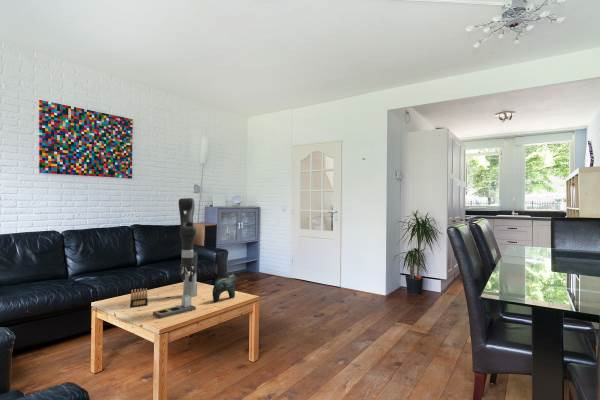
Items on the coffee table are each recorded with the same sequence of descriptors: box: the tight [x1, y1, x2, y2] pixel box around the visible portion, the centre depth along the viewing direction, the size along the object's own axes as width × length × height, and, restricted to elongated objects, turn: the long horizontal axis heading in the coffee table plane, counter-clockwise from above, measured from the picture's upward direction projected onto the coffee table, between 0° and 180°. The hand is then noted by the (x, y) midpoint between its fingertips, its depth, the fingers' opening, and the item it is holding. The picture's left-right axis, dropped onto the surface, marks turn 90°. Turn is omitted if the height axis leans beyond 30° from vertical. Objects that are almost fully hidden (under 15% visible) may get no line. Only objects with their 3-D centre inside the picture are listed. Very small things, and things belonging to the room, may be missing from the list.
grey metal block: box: [181, 295, 192, 308], centre depth 220 cm, size 4×4×9 cm
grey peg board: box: [152, 304, 197, 319], centre depth 214 cm, size 24×10×2 cm, turn 140°
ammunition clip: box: [129, 287, 149, 309], centre depth 225 cm, size 11×2×12 cm, turn 124°
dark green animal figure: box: [212, 271, 237, 303], centre depth 245 cm, size 20×6×20 cm, turn 141°
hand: (186, 281), depth 220 cm, fingers open, 8 cm apart
